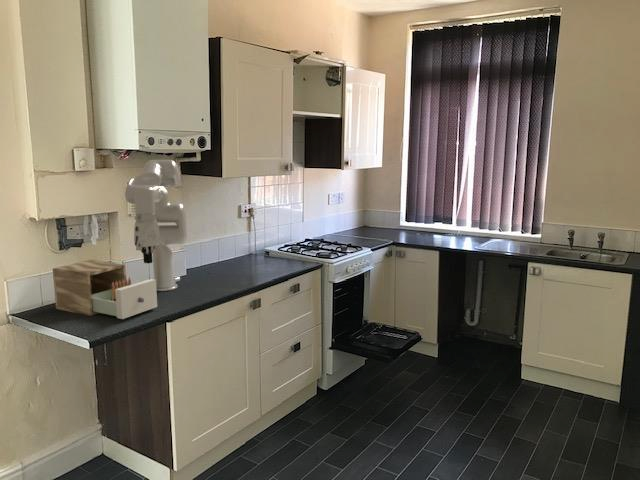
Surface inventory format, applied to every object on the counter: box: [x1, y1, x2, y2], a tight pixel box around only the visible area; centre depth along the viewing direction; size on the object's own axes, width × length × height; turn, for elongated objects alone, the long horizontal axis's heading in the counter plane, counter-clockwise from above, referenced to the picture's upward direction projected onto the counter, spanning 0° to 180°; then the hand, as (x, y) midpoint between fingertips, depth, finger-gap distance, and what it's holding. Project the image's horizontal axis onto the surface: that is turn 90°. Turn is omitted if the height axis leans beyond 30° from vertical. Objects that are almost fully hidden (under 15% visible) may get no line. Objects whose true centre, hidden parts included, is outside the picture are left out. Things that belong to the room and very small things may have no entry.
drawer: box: [91, 278, 158, 320], centre depth 230 cm, size 19×24×12 cm
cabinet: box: [52, 259, 127, 317], centre depth 238 cm, size 20×22×18 cm
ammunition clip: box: [111, 277, 132, 302], centre depth 229 cm, size 11×2×12 cm, turn 152°
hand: (148, 262), depth 219 cm, fingers closed
